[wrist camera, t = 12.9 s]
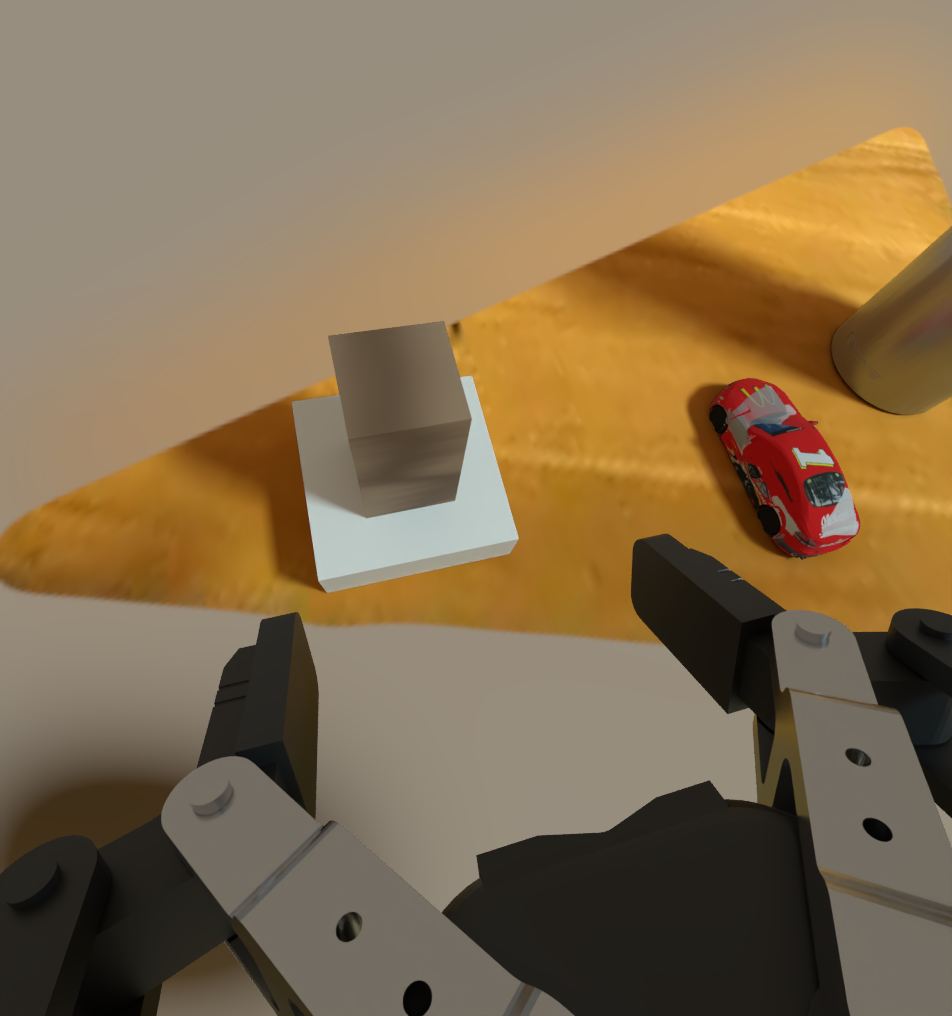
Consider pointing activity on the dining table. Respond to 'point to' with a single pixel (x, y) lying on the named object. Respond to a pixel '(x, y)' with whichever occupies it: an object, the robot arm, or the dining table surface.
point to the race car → (785, 469)
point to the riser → (402, 535)
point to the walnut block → (402, 415)
